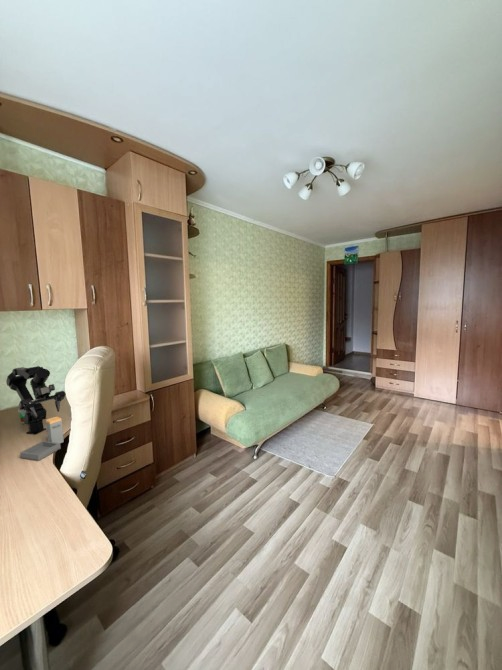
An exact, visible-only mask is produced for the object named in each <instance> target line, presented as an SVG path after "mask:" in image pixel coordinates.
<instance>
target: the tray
mask: <svg viewBox="0 0 502 670" xmlns="http://www.w3.org/2000/svg"><path fill="white" fill-rule="evenodd" d="M61 447H62V446H61V443H55V442H48V440H46V441H45V440H42V441H40V442H39V443H36V444H34V445H31V446H30V447H28V448H26V449H24V450H22V451H20V453H19V456H20V459H21V460H22V459H23V460H29V461H36V462H40V461H42V460H43V459H46V458H47V457H48V456H50V455H52V454H54V453H56V452H57V451H59V450H61V449H62V448H61Z"/></svg>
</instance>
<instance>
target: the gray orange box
mask: <svg viewBox="0 0 502 670" xmlns="http://www.w3.org/2000/svg"><path fill="white" fill-rule="evenodd" d="M45 428H46V435H47V442H55V443H60V444H62V443H64V433H63V431H64V430H63V421H62V418H61V417H59V416H54V417H51V418H50V417H49V418H46V419H45Z"/></svg>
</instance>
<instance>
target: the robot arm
mask: <svg viewBox="0 0 502 670" xmlns="http://www.w3.org/2000/svg"><path fill="white" fill-rule="evenodd" d="M49 376H51V371H50V370H49V369H47V368H44V366H39V365H37V366H32V367H24V366H22V367H15V368H13V369H12V372H10V373H9V374H8V375H7V377H6V379H5V380H6V381H5V382H6V385H7V386H8V388H10V390H12V391H15V392H16V393H17V395H18V396H19V398H20V401H19V403H18V409H20V410H22V409H23V410H26V413H25V416H24V419H23V420H24V423H25V424H26V425H28V431H26V432H25V433H26V434H28V435H37V434H39V433H42V432H43V431H47V428H46V427H44V422H43V420H47V410H46V408H45V407H44V406H43V404H42V403H43V402H47V401H51V400H54V405H55V408H56V411H57V412H58V413H60V406H61V402H62V400H64V399H65V397H66V395H67V393H66V391H64V390H60V391H56V387H55V383H52V384H49V385H48V386H47V384H46V382H47V381H48V378H49ZM29 379H31V380H30V381H29V382H30V385H29V386H31V390H32V392H33V393H32V394H33V396H32V394H31V393H30V391H29V389H28V387H27V382H28V380H29ZM53 391H55V393H54V395H51V393H52V392H53ZM34 398H35V399H34Z"/></svg>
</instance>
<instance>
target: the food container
mask: <svg viewBox="0 0 502 670" xmlns="http://www.w3.org/2000/svg"><path fill="white" fill-rule="evenodd" d="M17 413H18V416H19V420H20V423H21V425H22V424H23V425H24V424H25V423H24V420H23V419H24V416H25V413H26V410H23V409H22V410H20V409H19V408H18V409H17Z"/></svg>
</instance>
